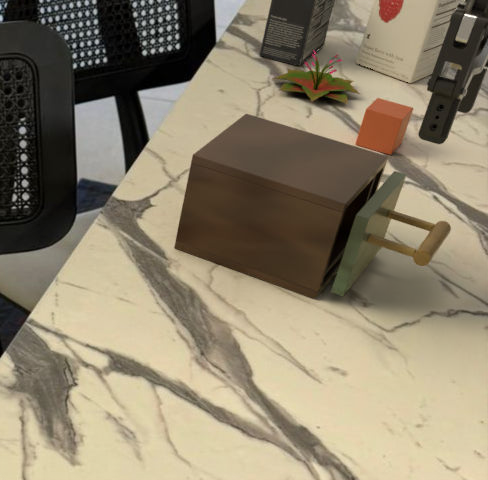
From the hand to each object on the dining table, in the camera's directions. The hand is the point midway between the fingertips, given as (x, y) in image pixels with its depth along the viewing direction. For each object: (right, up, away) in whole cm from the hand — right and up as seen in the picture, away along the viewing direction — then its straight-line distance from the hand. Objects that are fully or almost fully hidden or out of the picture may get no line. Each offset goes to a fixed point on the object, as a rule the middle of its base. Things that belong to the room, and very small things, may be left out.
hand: (444, 124), depth 86 cm
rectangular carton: (+17, +27, +57) cm, 65 cm away
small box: (+3, +30, +59) cm, 66 cm away
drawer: (-6, -9, +12) cm, 16 cm away
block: (+7, +10, +36) cm, 38 cm away
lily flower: (+3, +21, +48) cm, 52 cm away
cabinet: (-11, -7, +15) cm, 20 cm away
